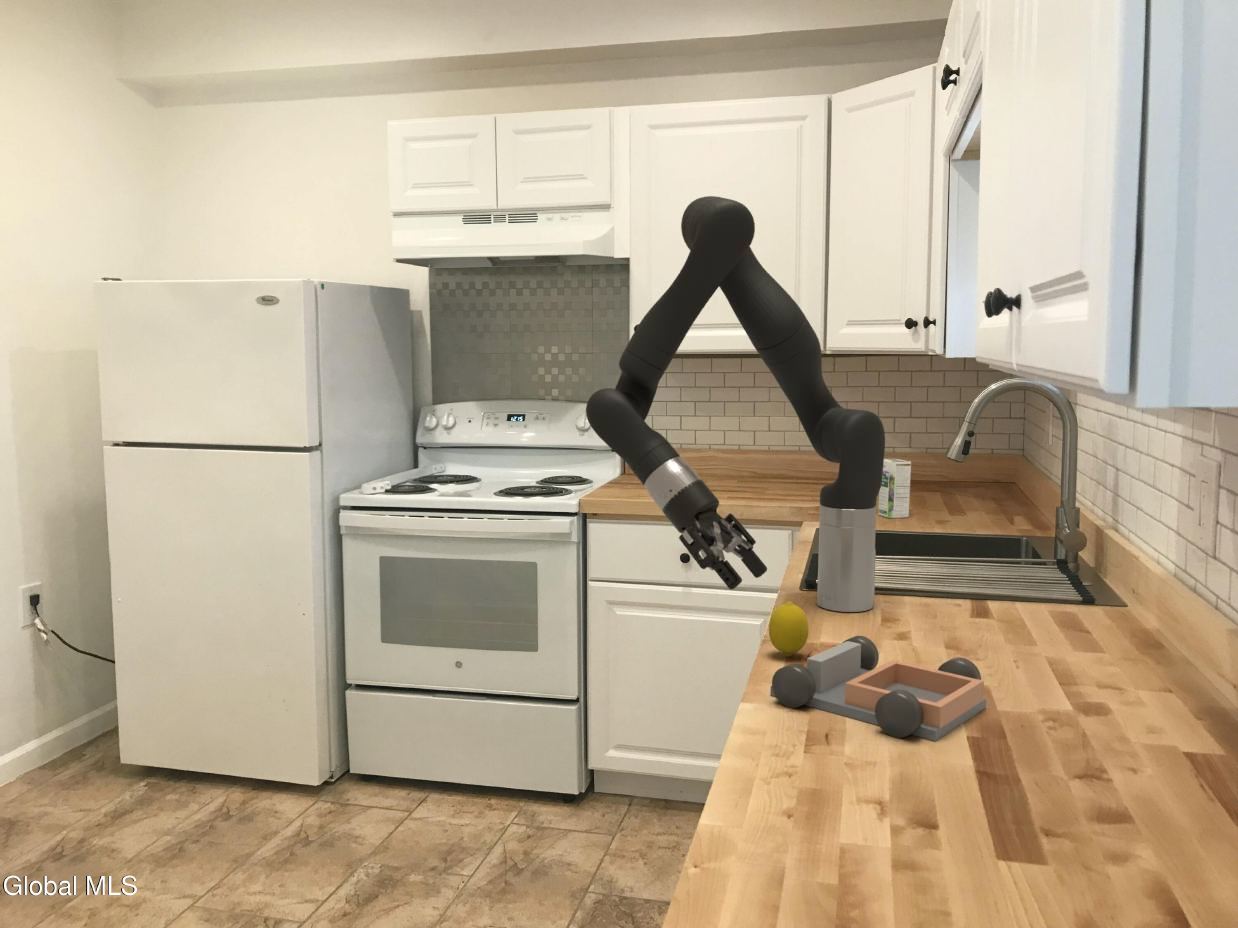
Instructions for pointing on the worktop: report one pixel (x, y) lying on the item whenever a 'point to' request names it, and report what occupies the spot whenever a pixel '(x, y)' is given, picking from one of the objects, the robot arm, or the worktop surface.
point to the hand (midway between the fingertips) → (750, 579)
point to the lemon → (788, 628)
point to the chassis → (884, 690)
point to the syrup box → (895, 489)
